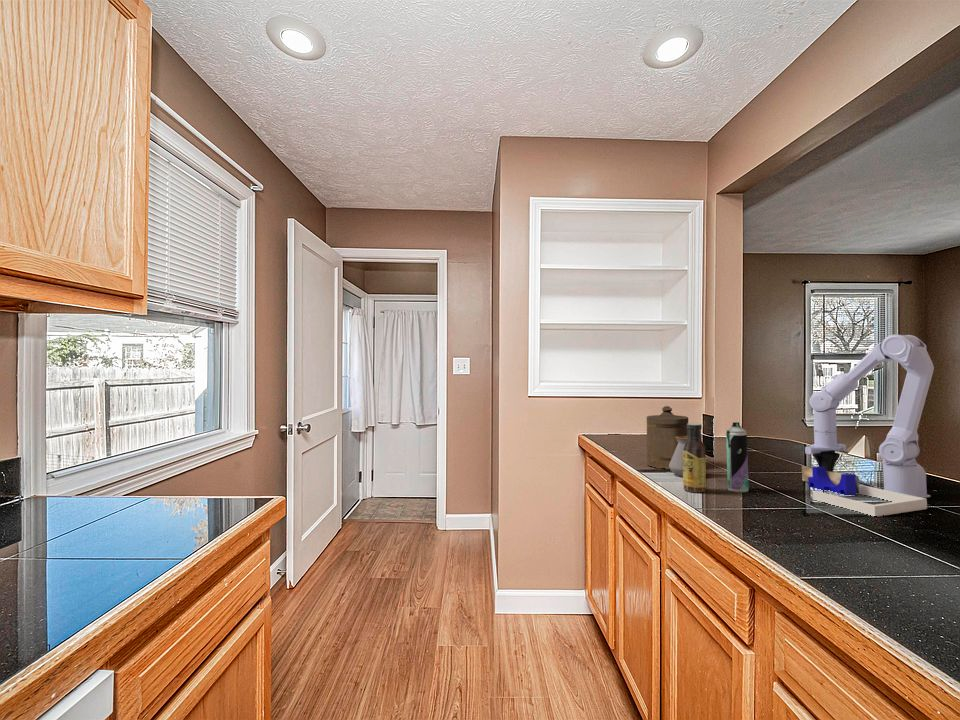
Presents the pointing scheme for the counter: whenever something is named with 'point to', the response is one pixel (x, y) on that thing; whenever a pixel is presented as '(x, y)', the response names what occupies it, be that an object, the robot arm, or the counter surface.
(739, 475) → the spray can
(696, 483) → the sauce bottle
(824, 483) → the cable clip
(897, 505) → the cream square rimmed piece
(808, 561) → the counter surface
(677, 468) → the coffee pot
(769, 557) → the counter surface
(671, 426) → the wooden container
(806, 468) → the board
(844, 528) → the counter surface
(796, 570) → the counter surface
